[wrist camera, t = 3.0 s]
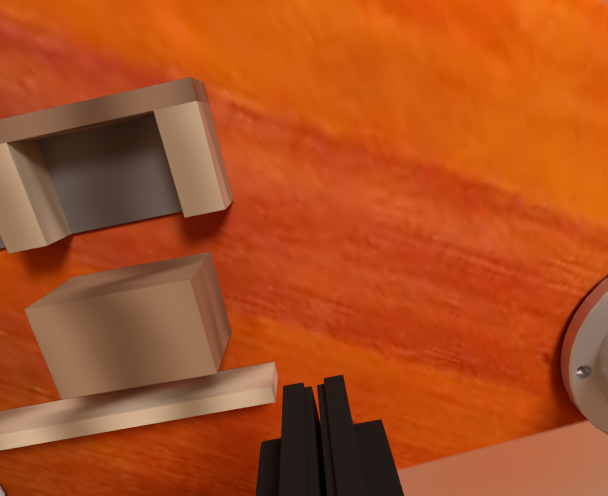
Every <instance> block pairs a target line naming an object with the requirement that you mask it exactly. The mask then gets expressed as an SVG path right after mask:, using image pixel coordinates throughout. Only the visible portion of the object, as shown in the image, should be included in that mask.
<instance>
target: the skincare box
mask: <svg viewBox="0 0 608 496" xmlns="http://www.w3.org/2000/svg"><path fill="white" fill-rule="evenodd" d="M0 496H5V493H4V491H3V489H2V488H1V486H0Z"/></svg>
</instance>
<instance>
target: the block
mask: <svg viewBox="0 0 608 496" xmlns="http://www.w3.org/2000/svg"><path fill="white" fill-rule="evenodd" d="M24 310H25V313H26V315H27V317H28V320H29V322H30V325H31V327H32V329H33V332H34V334H35V337H36V339H37V341H38V344H39V346H40V349H41V351H42V354H43V356H44V358H45V361H46V363H47V366H48V368H49V370H50V373H51V375H52V378H53V380H54V382H55V385H56V387H57V390H58V392H59V395H60V397H61V399H68V398H74V397H80V396H86V395H92V394H98V393H104V392H110V391H116V390H122V389H128V388H134V387H140V386H146V385H152V384H158V383H164V382H170V381H176V380H182V379H188V378H194V377H200V376H206V375H212V374H217V372H218V369H219V366H220V363H221V361H222V358H223V355H224V352H225V349H226V346H227V343H228V340H229V338H230V335H231V332H232V331H231V327H230V323H229V320H228V316H227V312H226V308H225V304H224V301H223V297H222V293H221V289H220V286H219V282H218V278H217V274H216V270H215V267H214V263H213V259H212V255H211V252H207V253H201V254H196V255H190V256H185V257H179V258H174V259H168V260H163V261H158V262H152V263H147V264H141V265H136V266H130V267H125V268H119V269H114V270H108V271H103V272H97V273H92V274H86V275H81V276H75V277H72V278H71V279H69V280H68V281H66V282H65V283H63V284H62V285H60V286H59V287H57V288H56V289H54V290H53V291H51V292H50V293H48V294H47V295H45V296H44V297H42V298H41V299H39V300H38V301H36V302H35V303H33V304H32V305H30V306H29V307H27V308H26V309H24Z"/></svg>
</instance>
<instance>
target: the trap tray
mask: <svg viewBox="0 0 608 496" xmlns="http://www.w3.org/2000/svg"><path fill="white" fill-rule="evenodd" d="M232 201H233V197H232V193H231V189H230V185H229V181H228V177H227V173H226V169H225V165H224V161H223V157H222V153H221V149H220V145H219V142H218V138H217V134H216V130H215V126H214V122H213V118H212V114H211V110H210V106H209V102H208V98H207V94H206V90H205V86H204V83H203V82H201V81H198V80H196V79H194V78H191V77H189V78H185V79H180V80H176V81H171V82H167V83H162V84H158V85H153V86H149V87H144V88H140V89H135V90H131V91H126V92H122V93H117V94H113V95H108V96H104V97H99V98H95V99H90V100H86V101H81V102H77V103H72V104H68V105H63V106H59V107H54V108H50V109H45V110H41V111H36V112H32V113H27V114H23V115H18V116H14V117H9V118H5V119H0V248H5V247H6V249H7V251H8V254H9V253H13V252H18V251H23V250H28V249H33V248H38V247H43V246H47V245H49V244H52V243H54V242H56V241H58V240H60V239H62V238H64V237H66V236H68V235H71V234H74V233H79V232H83V231H88V230H93V229H98V228H103V227H108V226H113V225H118V224H123V223H128V222H132V221H137V220H142V219H147V218H152V217H157V216H162V215H167V214H172V213H177V212H181V211H183V214H184V217H185V218H186V217H191V216H196V215H201V214H205V213H210V212H215V211H220V210H225V209H226V208H227V207H228V206H229V205H230V204H231V202H232ZM277 381H278V374H277V370H276V366H275V362H270V363H264V364H259V365H253V366H248V367H242V368H237V369H231V370H226V371H220V372H217V374H212V375H206V376H200V377H194V378H188V379H182V380H176V381H170V382H164V383H158V384H152V385H146V386H140V387H134V388H128V389H122V390H116V391H110V392H104V393H99V394H93V395H88V396H82V397H77V398H71V399H66V400H60V401H54V402H49V403H43V404H38V405H32V406H27V407H21V408H16V409H10V410H5V411H0V450H5V449H11V448H17V447H22V446H28V445H34V444H39V443H45V442H51V441H57V440H62V439H68V438H74V437H79V436H85V435H91V434H96V433H102V432H108V431H114V430H119V429H125V428H131V427H136V426H142V425H148V424H153V423H159V422H165V421H171V420H176V419H182V418H188V417H193V416H199V415H205V414H210V413H216V412H222V411H228V410H233V409H239V408H245V407H250V406H256V405H262V404H267V403H273V402H275V401H276V391H277Z"/></svg>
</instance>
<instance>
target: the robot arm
mask: <svg viewBox="0 0 608 496" xmlns="http://www.w3.org/2000/svg"><path fill="white" fill-rule="evenodd" d="M561 374H562V379H563V383H564V387H565V389H566V391H567V393H568V395H569V398H570V400H571V401H572V403H573V404H574V405H575V406H576V407H577V409H578V410H579V411H580V412H581V413H582V414H583V415H584V416H585V417H586V418H587V419H588V420H589V421H590V422H591V423H592V424H593V425H594V426H595V427H596V428H598V429H600V430H601V431H603V432H605V433H606V434H608V277H607V278H606V279H605V280H603V281H602V282H601V283H600V284H599V285H598V286H597V287H596V288H595V289H594V290H593V291H592V292H591V293H590V294H589V295H588V297H587V298H586V299H585V300H584V302H583V303H582V305H581V306H580V307H579V309H578V310H577V312H576V313H575V315H574V316H573V319H572V321H571V323H570V325H569V327H568V330H567V332H566V334H565V338H564V342H563V346H562V351H561ZM317 389H318V400H319V411H320V420H319V416H318V412H317V407H316V403H315V399H314V394H313V390H312V387H311V386H310V387H304V384H303V382H302V383H297V384H291V385H286V386H283V404H282V431H281V438H278V439H273V440H268V441H263V442H262V443H261V449H260V459H259V469H258V479H257V489H256V496H404V494H403V490H402V487H401V483H400V480H399V477H398V473H397V470H396V467H395V463H394V460H393V456H392V453H391V450H390V446H389V443H388V440H387V436H386V433H385V429H384V426H383V423H382V420H381V419H380V420H375V421H370V422H364V423H359V424H354V425H353V422H352V417H351V412H350V407H349V402H348V397H347V392H346V387H345V383H344V378H343V375H339V376H333V377H328V378H324V384H321V385H317ZM320 422H321V425H320Z"/></svg>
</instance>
